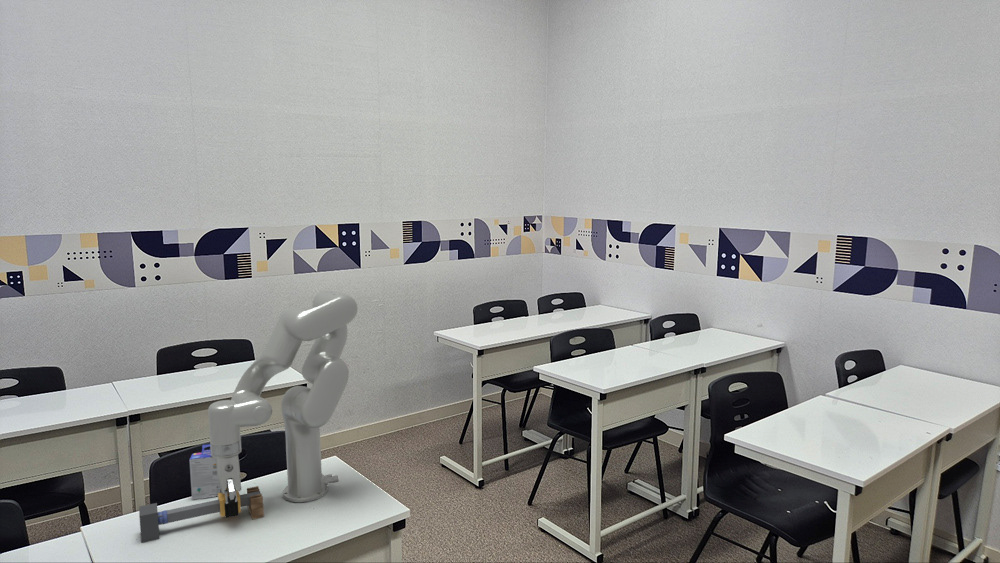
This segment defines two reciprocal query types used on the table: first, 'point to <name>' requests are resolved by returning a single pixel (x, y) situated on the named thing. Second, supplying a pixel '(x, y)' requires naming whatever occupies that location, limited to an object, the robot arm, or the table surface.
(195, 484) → the ink cartridge box
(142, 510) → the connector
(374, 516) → the table surface
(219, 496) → the tan sliding collar
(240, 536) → the table surface
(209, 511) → the long gray square bar
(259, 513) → the brown wooden block
